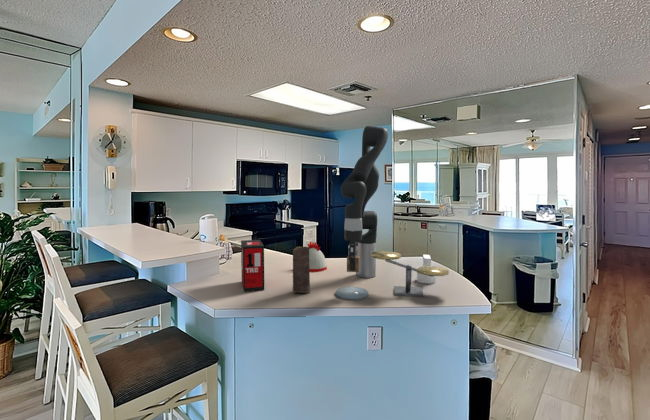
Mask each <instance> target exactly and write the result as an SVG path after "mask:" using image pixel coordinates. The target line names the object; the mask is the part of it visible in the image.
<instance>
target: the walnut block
mask: <svg viewBox="0 0 650 420" xmlns="http://www.w3.org/2000/svg"><path fill="white" fill-rule="evenodd" d="M351 258H354V256H351ZM359 270H360V256H358V255H357V256H356V261H355V270H350V261H349V254H348V255H347V257H346V272H348V273H356V272H359Z"/></svg>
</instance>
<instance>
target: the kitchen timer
mask: <svg viewBox="0 0 650 420" xmlns="http://www.w3.org/2000/svg"><path fill="white" fill-rule="evenodd" d="M307 247H309V269H310V273H317V272H318V273H319V272H324V270H325V271H327V268H328V267H327V266H328V265H327V260H326V258H325V255H324V253H323V252H322V251H321V250H320V249H321V246H319V244H317V242H315V241H312V242H311V241H309V243H307Z"/></svg>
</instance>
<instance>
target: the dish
mask: <svg viewBox="0 0 650 420" xmlns="http://www.w3.org/2000/svg"><path fill="white" fill-rule="evenodd" d="M335 296H336V297H337V298H339V299H343V300H348V301H349V300H352V301H357V300H363V299H367V298H368V297H369V290H368V289H366V288H362V287H358V286H344V287H343V286H342V287H339V288H337V289H336V290H335Z"/></svg>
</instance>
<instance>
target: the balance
mask: <svg viewBox="0 0 650 420" xmlns="http://www.w3.org/2000/svg"><path fill="white" fill-rule="evenodd" d="M371 257H373V258H376V260H384V261H385V262H387V263H389V264H393V265H396V266H398V267H401V268H404V269H405V286H404V285H403V286H400V285H399V286H398V285H394V286H393V293H394V296H399V297H400V296H403V297H421V298H424V297H425V295H424V291H423V289H422V287H419V286H412V275H413V274H412V272H416V273H417V272H418V273H420V274H423V275H428V276H431V277H432V276H436V277H444V276H448V275H449V271H450V270H449V269H447V268H444V267H441V266H434V265H431V266H423V265H422V266H418V267H416V268H415V267H413V266H411V264H405V263H401V262H398V261H395V260H399V259H401V257H402V254H401V253H399V252H395V251H390V250H389V251H386V250H383V251H382V250H381V251H378V250H376V252H372V253H371Z"/></svg>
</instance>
